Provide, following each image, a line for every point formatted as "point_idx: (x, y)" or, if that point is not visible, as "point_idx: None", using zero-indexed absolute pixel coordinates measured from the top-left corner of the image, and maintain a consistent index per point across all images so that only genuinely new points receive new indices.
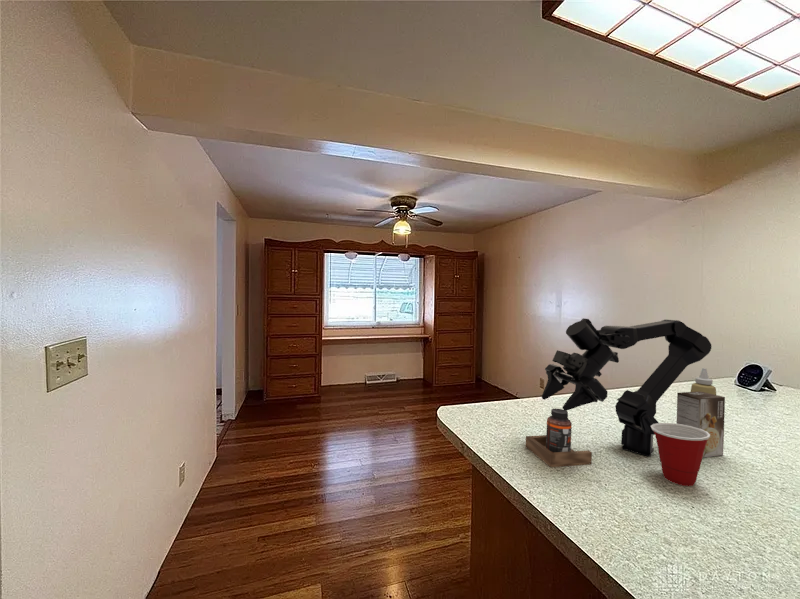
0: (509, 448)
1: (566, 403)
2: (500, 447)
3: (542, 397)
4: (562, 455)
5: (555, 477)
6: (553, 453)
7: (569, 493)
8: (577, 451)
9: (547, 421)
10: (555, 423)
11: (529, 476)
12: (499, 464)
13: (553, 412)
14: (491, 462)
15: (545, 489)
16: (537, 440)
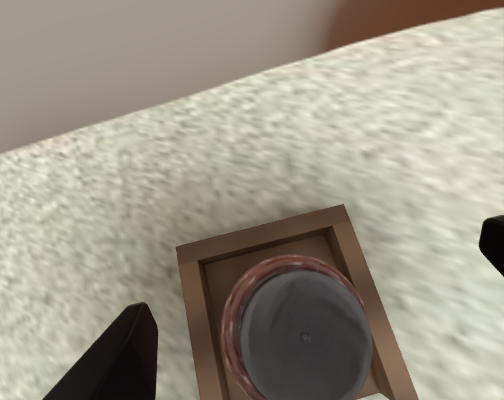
0: (309, 161)
1: (97, 347)
2: (311, 136)
3: (484, 222)
4: (184, 296)
5: (125, 245)
6: (190, 261)
7: (41, 252)
8: (215, 382)
9: (295, 254)
10: (238, 281)
11: (133, 174)
12: (197, 114)
13: (279, 275)
14: (207, 98)
15: (67, 195)
16: (338, 251)
